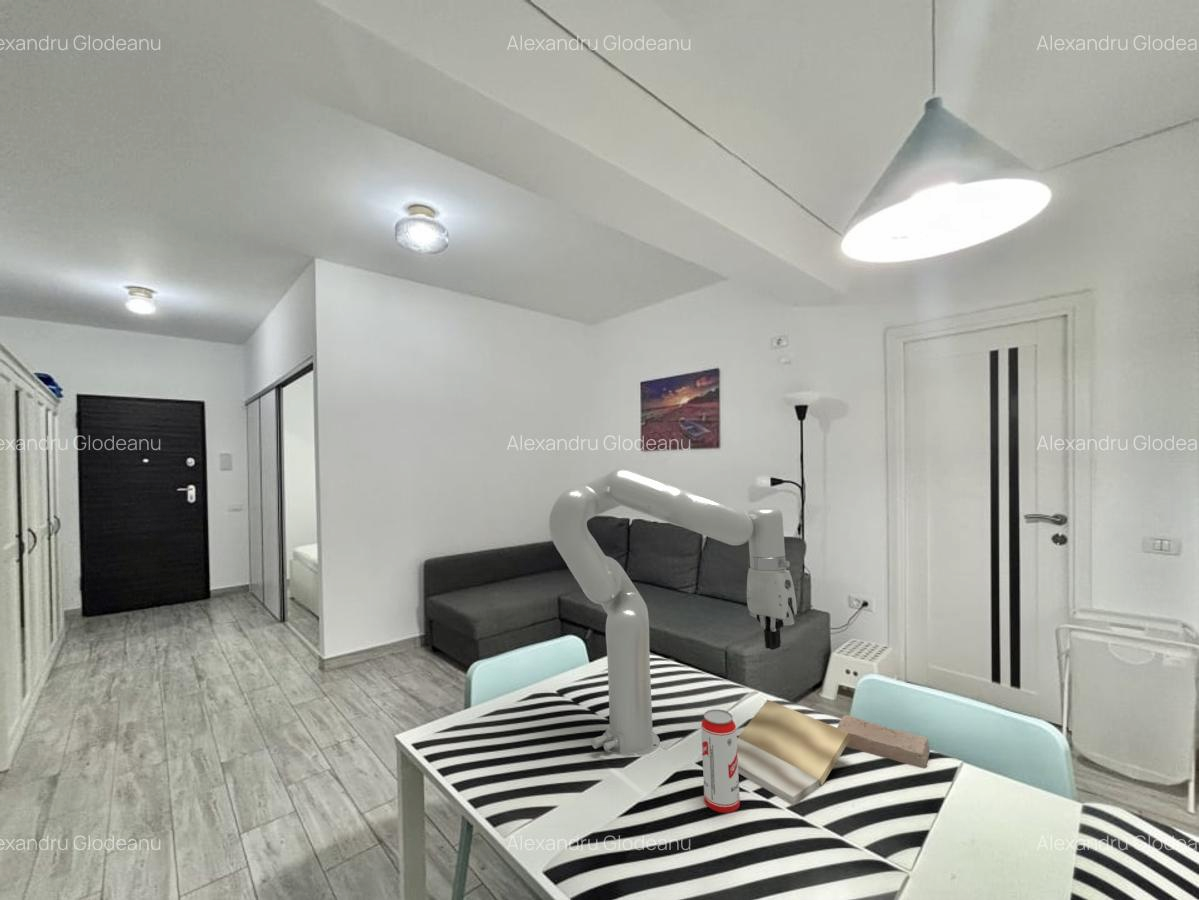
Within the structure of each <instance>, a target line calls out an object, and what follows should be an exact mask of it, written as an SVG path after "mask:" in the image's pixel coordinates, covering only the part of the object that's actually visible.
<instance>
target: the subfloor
mask: <svg viewBox="0 0 1199 900" xmlns="http://www.w3.org/2000/svg"><path fill="white" fill-rule="evenodd" d="M738 737H739V736H738ZM738 737H737V754H738V775H741V776H743V777H744V778H746V779H748V781H751V782H753V783H755V784H756V785H757V786H760V787H762V788H763V789H765V790H766V791H768V792H770V793H772V794H773V795H775V796H777V797H778V798H780V799H782V800H783V801H785V802H787V803H788V804H791V805H792V806H796V804H798V803H799V802H800V801H802V800H803V799H805V798H807V797H808V796H809V795H811V794H812V793H814V792H816V790H818V789H819V788H820V781H819V779H818V778H816V777H814V776H812V775H810V774H808V773H806V772H804V771H802V770H800V769H798V768H796V767H795V766H793V765H791V764H789V763H787V762H785V761H783V760H781V759H779V758H777V757H775V756H773V755H771V754H769V753H767V752H765V751H763V750H761V749H759V748H757V747H755V746H754V745H752V744H750V743H748V742H746V741H744V740H742V739H740V738H738Z"/></svg>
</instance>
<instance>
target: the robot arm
mask: <svg viewBox="0 0 1199 900" xmlns="http://www.w3.org/2000/svg"><path fill="white" fill-rule="evenodd" d="M620 506H622V507H625V508H627V509H630V510H633V511H637V512H639V513H642V514H645V515H648V516H651V517H653V518H656V519H658V520H660V521H663V522H666V523H669V524H671V525H673V526H677V527H681V528H684V529H687V530H689V531H692V532H695V533H697V534H700V535H703V536H705V537H707V538H710V539H714V540H715V541H720V542H722V543H724V544H727V545H730V546H741V545H744V544H746V543H748V549H749V553H748V554H749V564H750V568H748V571H747V578H746V580H747V581H746V602H747V608H748V610H749V615H750V616H751V617H753V618H754V619H757V621H758V622H759V623H760V627H761V629H762V630H763V634H764V644H765V649H769V650H771V651H773V650H776V649H779V648H780V647H781V644H782V641H781V639H782V638H781V630H782V629H783V627H784V626H792V625H794V624H795V620H794V617H795V616H796V615H797V612H798V607H797V599H796V598H797V597H796V592H795V587H794V581H793V578H792V577H793V576H792V575H791V573H790V572H791V571H790V570H787V568H789V567H790V566H791V562H790V561H789V560H786V559H787V558H786V550H785V549H786V548H785V547H786V546H785V533H784V518H783V517H784V516H783V513H782V511H781V510H780V509H779V508H776V507H754V508H750V509H747V508H746V509H745V508H735V507H731V506H727V505H725V504H722V503H718V502H716V501H713V500H710V499H708V498H705V497H702V496H699V495H697V494H695V493H693V492H690V491H689V490H687V489H685V488H683V487H681V486H678V485H676V484H673V483H670V482H666V481H665V480H661V479H659V478H655V477H653V476H650V475H647V474H644V473H641V472H639V471H636V470H633V469H630V468H627V467H617V468H615V469H613V470H611V471H610V472H609V473H607V474H606V475H603V476H601V477H598V478H596V479H594V480H592V481H588V482H586V483H583V484H582V485H579V486H574V487H570V488H568V489H566V490H564V491H563V492H562V493H561V494H560V495H559V496H558V497H557V499H556V500H555V503H554V504H553V505H552V508H551V511H550V514H549V521H548V523H549V524H548V526H549V527H548V529H549V533H550V537H551V540H552V543H553V544H554V546H555V548H556V550H557V551H558V553H559V554H560V556H561V558H562V559H563V561H564V562H565V563H566V566H567V568H568V569H569V571H570V572H571V573H572V576H573V577H574V579H575V580H576V581H577V583H578V585H579V587H580V588H581V590H582V592H583V593H584V594H585V597H587V599H589V601H591V602H592V603H594V604H597V605H600V606H601V607H602V608H603V610H604V612H605V613H606V614H607V617H606V620H605V621H606V623H605V643H606V655H607V679H608V684H607V685H608V709H609V710H608V711H609V725H607V726H605V732H603V734H602V735H600V736H597V737H594V738H592V739H591V746H592V747H593V748H594V749H595V750H596V749H598V748H601V747H603V749H604V751H605V752H606V753H613V754H614V755H616V756H620V757H626V758H636V757H637V758H638V757H642V756H646V755H650V754H652V753H653V752H655V751H656V750H657V749H658V747H660V744H661V741H660V738H659V736H658V735H657V734H656V733H655V732H654V730H653V713H652V710H653V707H652V706H653V705H652V687H651V686H652V682H651V680H652V679H651V678H652V677H651V663H650V662H651V661H650V660H651V657H650V620H649V612H648V611H649V610H648V607H647V604H646V602H645V600H644V599H643V597H642V595H641V593H640V592H639V591H638V589H637V588H636V586H635V585H634V583H633V582H632V580H631V578H630V577H629V575H628V574H627V573H626V571H625V570H624V568H623V566H622V565H621V564H620V563H619V562H618V560H616V559H614V558H613V557H611V556H609V555H608V556H607V555H605V554H604V552H603V550H602V549H601V547H600V546H599V544H598V543H597V541H596V539H595V538H594V536H593V535H592V534H591V533H590V531H589V529H588V524H587V523H588V521H589V520H591V519H593V518H594V517H597V516H598V515H602V514H604V513H606V512H609V511H610V510H614V509H617V508H618V507H620Z"/></svg>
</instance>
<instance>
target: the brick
mask: <svg viewBox="0 0 1199 900" xmlns="http://www.w3.org/2000/svg"><path fill="white" fill-rule="evenodd" d="M836 728H839V729H841V730H844V731H846V732H848V733H849V735H850V738H851V739H850V740H849V742H848V744H847V745H846V747H847V748H848V749H852V750H857V751H860V752H863V753H866V754H870V755H874V756H877V757H880V758H884V759H888V760H892V761H896V762H899V763H902V764H907V765H909V766H914V767H916V768H921V769H926V768H927V766H928V760H929V756H930V755H931V748H930V746H929V745H930V743H929V740H928V738H927V737H926V736H923V735H918V734H913V733H911V732H908V731H904V730H900V729H893V728H888V727H884V726H882V725H880V724H878V723H871V722H868V721H867V720H865V719H861V718H858V717H855V716H853V715H847V714H846V715H843V716H842V717H841V719H840V720H839V722H838V725H837V727H836ZM846 747H845V748H846Z"/></svg>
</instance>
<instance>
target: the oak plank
mask: <svg viewBox="0 0 1199 900" xmlns="http://www.w3.org/2000/svg"><path fill="white" fill-rule="evenodd" d="M738 738H740V739H742V740H744V741H746V742H748V743H750V744H752V745H754V746H755V747H757V748H759V749H761V750H763V751H765V752H767V753H769V754H771V755H773V756H775V757H777V758H779V759H781V760H783V761H785V762H787V763H789V764H791V765H793V766H795V767H796V768H798V769H800V770H802V771H804V772H806V773H808V774H810V775H812V776H814V777H816V778H818V779H819V781H820V785H821V786H823V784H824V783H825V782H826V779H828V776H829V774H830V773H831V771H832V770H833V768H834V767H835V765H836V764H837V762H838V760H839V758H840V756H841V755H842V754H843V752H844V750H845V749H846V745H847V744H848V742H849V740H850V739H851V738H850V735H849V733H848V732H846V731H844V730H841V729H839V728H837V727H836V726H834V725H831V724H828V723H826V722H824V721H822V720H819V719H817V718H814V717H811V716H809V715H806V714H804V713H803V712H799V711H797V710H795V709H792V708H789V707H787V706H784V705H782V704H779V703H777V702H776V701H773V700H771V699H766V700H765V702H764V704H762V706H761V707H760V708H759V709H758V711H757V712H756V714H755V715H754V716H753V717H752V718H751V720H750V721H749V723H748V724H747V725H746V726H745V727H744V729H743V730H742V731H741V733H740V734H739V735H738Z"/></svg>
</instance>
